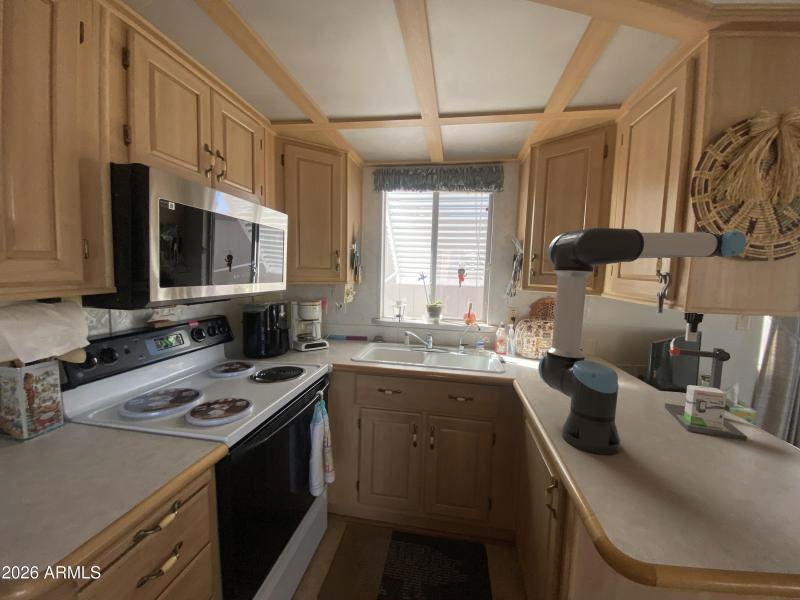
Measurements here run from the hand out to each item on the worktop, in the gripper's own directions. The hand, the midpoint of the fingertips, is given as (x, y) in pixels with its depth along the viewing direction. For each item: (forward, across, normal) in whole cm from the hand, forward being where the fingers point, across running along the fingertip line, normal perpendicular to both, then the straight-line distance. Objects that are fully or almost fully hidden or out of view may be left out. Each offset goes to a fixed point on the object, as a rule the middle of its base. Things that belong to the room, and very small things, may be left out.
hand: (690, 340), depth 116 cm
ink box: (+26, -12, -1) cm, 28 cm away
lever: (+6, 0, -3) cm, 7 cm away
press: (+27, -6, -3) cm, 28 cm away
